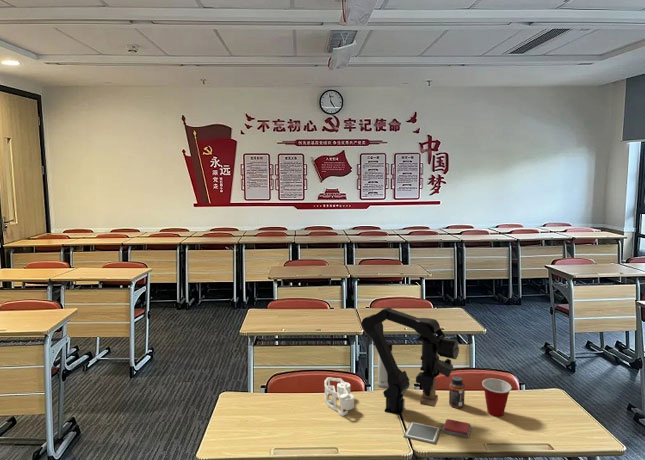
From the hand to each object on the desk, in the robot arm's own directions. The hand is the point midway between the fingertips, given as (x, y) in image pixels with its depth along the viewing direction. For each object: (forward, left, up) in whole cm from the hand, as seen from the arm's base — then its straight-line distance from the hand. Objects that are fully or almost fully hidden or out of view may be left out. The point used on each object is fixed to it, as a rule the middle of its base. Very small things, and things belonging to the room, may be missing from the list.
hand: (429, 393), depth 173 cm
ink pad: (+11, -3, -11) cm, 15 cm away
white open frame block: (-36, -1, -11) cm, 38 cm away
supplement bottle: (+8, +17, -11) cm, 22 cm away
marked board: (0, -10, -11) cm, 15 cm away
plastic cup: (+23, +16, -11) cm, 30 cm away
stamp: (0, 0, -4) cm, 4 cm away
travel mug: (-24, +23, -11) cm, 35 cm away
